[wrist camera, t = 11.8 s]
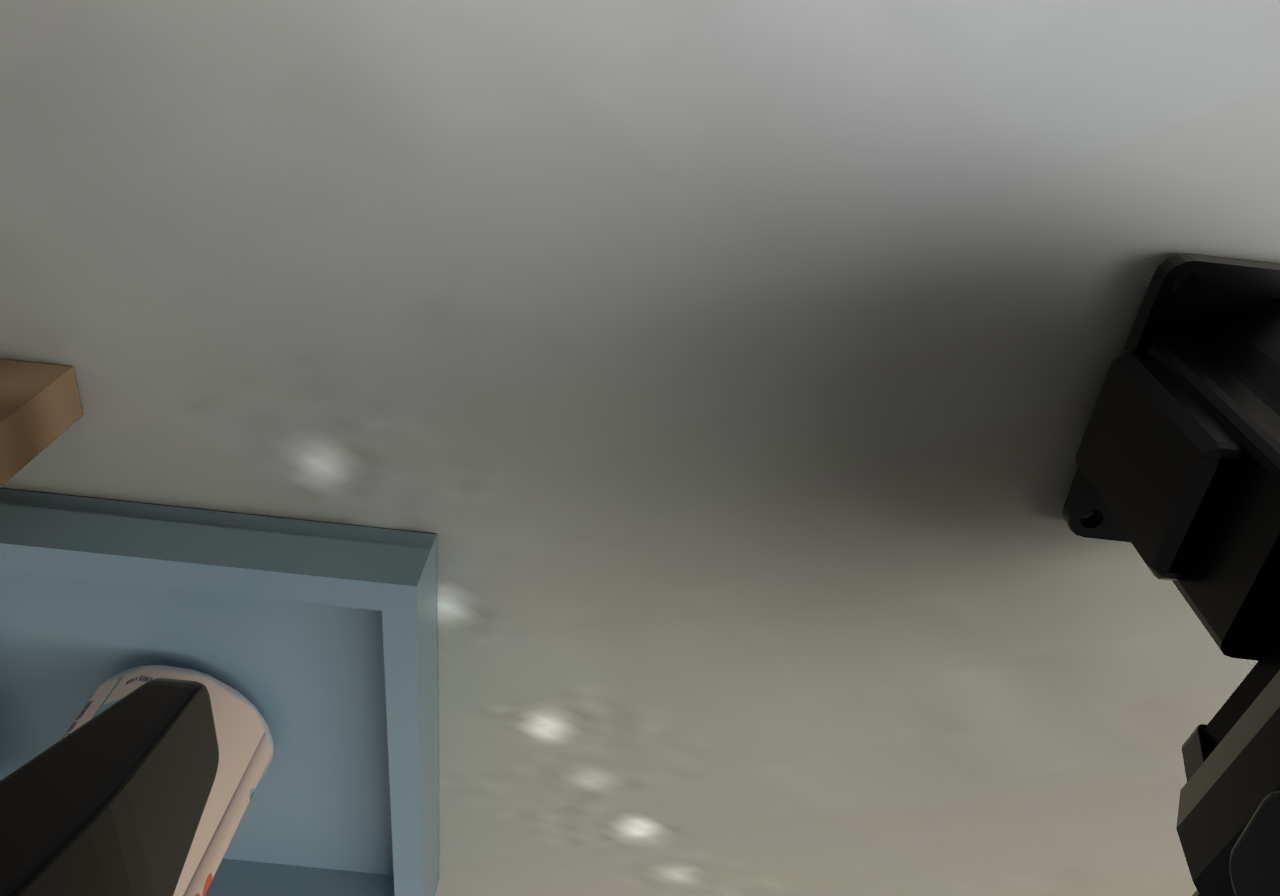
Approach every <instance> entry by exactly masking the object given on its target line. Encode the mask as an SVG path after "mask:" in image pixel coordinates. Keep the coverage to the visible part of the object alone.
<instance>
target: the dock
mask: <svg viewBox="0 0 1280 896" xmlns="http://www.w3.org/2000/svg"><path fill="white" fill-rule="evenodd" d="M82 415H83V411H82V406H81V401H80V397H79V392H78V388H77V383H76V378H75V374H74V369H73V367H71V366H62V365H52V364H43V363H34V362H24V361H15V360H6V359H0V485H3V484H5V483H6V482H7V481H8V480H9V479H10V478H11V477H13V476H14V475H15V474H16V473H17V472H18V471H19V470H21V469H22V468H23V467H24V466H25V465H26V464H27V463H29V462H30V461H31V460H32V459H33V458H34V457H35V456H37V455H38V454H39V453H40V452H41V451H42V450H43V449H45V448H46V447H47V446H48V445H49V444H50V443H51V442H53V441H54V440H55V439H56V438H57V437H58V436H59V435H61V434H62V433H63V432H64V431H65V430H66V429H67V428H69V427H70V426H71V425H72V424H73V423H74V422H75V421H77V420H78V419H79V418H80V417H81V416H82Z"/></svg>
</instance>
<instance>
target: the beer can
mask: <svg viewBox="0 0 1280 896" xmlns="http://www.w3.org/2000/svg"><path fill="white" fill-rule="evenodd" d="M156 678H169V679H179V680H188V681H198V682H200V683H203V684H204V685H205V686H206V688H207V689H208V692H209V695H210V700H211V706H212V712H213V717H214V723H215V729H216V735H217V741H218V746H219V763H218V769H217V774H216V777H215V781H214V784H213V786H212V789H211V792H210V795H209V797H208V800H207V803H206V806H205V809H204V811H203V814H202V817H201V820H200V823H199V825H198V828H197V831H196V834H195V836H194V839H193V842H192V845H191V848H190V850H189V853H188V856H187V859H186V862H185V864H184V867H183V870H182V873H181V875H180V878H179V881H178V884H177V887H176V889H175V892H174V895H173V896H205V894H206V892H207V890H208V888H209V886H210V884H211V882H212V879H213V877H214V875H215V873H216V871H217V869H218V867H219V865H220V863H221V860H222V858H223V856H224V854H225V852H226V850H227V848H228V846H229V844H230V841H231V839H232V837H233V835H234V833H235V831H236V829H237V827H238V825H239V823H240V820H241V818H242V816H243V814H244V812H245V810H246V808H247V806H248V804H249V801H250V799H251V797H252V795H253V793H254V791H255V789H256V787H257V785H258V783H259V781H260V779H261V778H262V777H263V776H264V775H265V774H266V773H267V771H268V768H269V766H270V764H271V761H272V759H273V751H274V743H273V739H272V735H271V732H270V729H269V726H268V724H267V722H266V721H265V719H264V718H263V717H262V715H261V714H260V712H259V711H258V709H257V708H256V706H255V705H254V704H252V703H251V702H250V701H249V700H248V699H247V698H246V697H244V696H243V695H242V694H241V693H240V692H239V691H237V690H235V689H234V688H232V687H230V686H228V685H226V684H225V683H223V682H221V681H219V680H217V679H216V678H214V677H212V676H210V675H209V674H205V673H202V672H199V671H196V670H192V669H185V668H178V667H171V666H164V665H147V666H139V667H135V668H131V669H127V670H124V671H122V672H120V673H118V674H116V675H114V676H112V677H110V678H108V679H107V680H106V681H105V682H103V683H102V684H101V685H100V686H99V687H98V689H97V690H96V692H95V693H94V695H93V696H92V697H91V699H90V700H89V702H88V703H87V704H86V706H85V707H84V708H83V710H82V711H81V713H80V714H79V715H78V717H77V718H76V719H75V721H74V722H73V723H72V725H71V726H70V728H69V729H68V730H67V732H66V733H65V734H64V736H63V737H62V739H63V738H64V737H66V736H67V735H68V734H70V733H71V732H73V731H74V730H76V729H77V728H79V727H80V726H82V725H83V724H85V723H86V722H88V721H89V720H91V719H92V718H94V717H95V716H97V715H98V714H100V713H101V712H103V711H104V710H106V709H107V708H109V707H110V706H112V705H113V704H114V703H116V702H117V701H119V700H120V699H122V698H123V697H125V696H126V695H128V694H129V693H131V692H132V691H134V690H135V689H137V688H138V687H140V686H141V685H143V684H144V683H146V682H148V681H150V680H153V679H156Z"/></svg>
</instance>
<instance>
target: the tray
mask: <svg viewBox="0 0 1280 896" xmlns="http://www.w3.org/2000/svg"><path fill="white" fill-rule="evenodd" d="M147 665H164V666H171V667H178V668H185V669H192V670H196V671H199V672H202V673H205V674H209V675H210V676H212V677H214V678H216V679H217V680H219V681H221V682H223V683H225V684H226V685H228V686H230V687H232V688H234V689H235V690H237V691H239V692H240V693H241V694H242V695H243V696H244V697H246V698H247V699H248V700H249V701H250V702H251V703H252V704H254V705H255V706H256V708H257V709H258V711H259V712H260V714H261V715H262V717H263V718H264V719H265V721H266V722H267V724H268V726H269V729H270V732H271V735H272V739H273V743H274V751H273V759H272V761H271V764H270V766H269V768H268V771H267V773H266V774H265V775H264V776H263V777H262V778H261V779H260V781H259V783H258V785H257V787H256V789H255V791H254V793H253V795H252V797H251V799H250V801H249V804H248V806H247V808H246V810H245V812H244V814H243V816H242V818H241V820H240V823H239V825H238V827H237V829H236V831H235V833H234V835H233V837H232V839H231V841H230V844H229V846H228V848H227V850H226V852H225V854H224V856H223V858H222V860H221V863H220V865H219V867H218V869H217V871H216V873H215V875H214V877H213V879H212V882H211V884H210V886H209V888H208V890H207V892H206V894H205V896H435V894H436V890H437V886H438V882H439V776H438V638H437V534H429V533H419V532H410V531H400V530H391V529H381V528H372V527H362V526H353V525H343V524H334V523H324V522H315V521H305V520H296V519H286V518H277V517H267V516H258V515H248V514H239V513H229V512H220V511H210V510H201V509H191V508H182V507H172V506H163V505H153V504H144V503H134V502H125V501H115V500H106V499H96V498H87V497H77V496H67V495H58V494H48V493H39V492H29V491H20V490H10V489H1V488H0V780H2V779H3V778H5V777H6V776H8V775H9V774H11V773H12V772H14V771H15V770H17V769H18V768H20V767H21V766H23V765H24V764H25V763H27V762H28V761H30V760H31V759H33V758H34V757H36V756H37V755H39V754H40V753H42V752H43V751H45V750H46V749H48V748H49V747H51V746H52V745H54V744H55V743H57V742H58V741H60V740H61V739H62V737H63V736H64V734H65V733H66V732H67V730H68V729H69V728H70V726H71V725H72V723H73V722H74V721H75V719H76V718H77V717H78V715H79V714H80V713H81V711H82V710H83V708H84V707H85V706H86V704H87V703H88V702H89V700H90V699H91V697H92V696H93V695H94V693H95V692H96V690H97V689H98V687H99V686H100V685H101V684H102V683H103V682H105V681H106V680H107V679H108V678H110V677H112V676H114V675H116V674H118V673H120V672H122V671H124V670H127V669H131V668H135V667H139V666H147Z"/></svg>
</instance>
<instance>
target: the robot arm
mask: <svg viewBox="0 0 1280 896" xmlns="http://www.w3.org/2000/svg"><path fill="white" fill-rule="evenodd" d="M1187 273H1192V276H1191V281H1190V282H1189V283H1188V285H1187V286H1186V287H1184V288H1182V289H1181V290H1175V291H1173V288H1174V283H1175V282H1176V281H1177V279H1178V278H1179V277H1181V276H1182V275H1184V274H1187ZM1076 462H1077V464H1078V465H1079V468H1078V471H1077V473H1076V476H1075V478H1074V481H1073V484H1072V486H1071V489H1070V491H1069V494H1068V497H1067V499H1066V502H1065V504H1064V507H1063V516H1064V519H1065V521H1066V523H1067V524H1068V526H1069V528H1070V529H1071V531H1073V532H1074V533H1075V534H1076V535H1079V536H1082V537H1087V538H1097V539H1106V540H1116V541H1125V542H1131V543H1132V544H1133V545H1134V547H1135V548H1136V550H1137V551H1138V553H1139V554H1140V556H1141V557H1142V559H1143V560H1144V562H1145V563H1146V564H1147V566H1148V567H1149V569H1150V570H1151V572H1152V573H1153V575H1154V576H1155V577H1157V578H1158V579H1164V580H1172V581H1173V583H1174V584H1175V585H1176V587H1177V588H1178V590H1179V591H1180V593H1181V594H1182V595H1183V597H1184V598H1185V600H1186V601H1187V602H1188V604H1189V605H1190V607H1191V608H1192V610H1193V611H1194V612H1195V614H1196V615H1197V617H1198V618H1199V620H1200V621H1201V622H1202V624H1203V625H1204V627H1205V628H1206V629H1207V631H1208V632H1209V634H1210V635H1211V637H1212V638H1213V639H1214V641H1215V642H1216V644H1217V645H1218V646H1219V648H1220V649H1221V651H1222V652H1223V654H1224V655H1226V656H1229V657H1232V658H1241V659H1251V660H1257V661H1258V663H1257V664H1256V665H1255V666H1254V668H1253V669H1252V670H1251V671H1250V673H1249V674H1248V675H1247V676H1246V678H1245V679H1244V680H1243V681H1242V683H1241V684H1240V685H1239V686H1238V688H1237V689H1236V690H1235V691H1234V693H1233V694H1232V695H1231V696H1230V698H1229V699H1228V700H1227V701H1226V703H1225V704H1224V705H1223V706H1222V708H1221V709H1220V710H1219V711H1218V713H1217V714H1216V715H1215V716H1214V718H1213V719H1212V720H1211V721H1210V722H1209V724H1208V725H1202V724H1201V725H1199V726H1198V727H1197V728H1196V729H1195V731H1194V732H1193V733H1192V734H1191V736H1190V737H1189V738H1188V739H1187V741H1186V742H1185V743H1184V744H1183V746H1182V753H1183V759H1184V765H1185V772H1186V778H1187V783H1186V784H1185V786H1184V787H1183V788H1182V789H1181V793H1180V802H1179V811H1178V819H1177V832H1178V835H1179V838H1180V841H1181V844H1182V848H1183V851H1184V854H1185V857H1186V860H1187V864H1188V867H1189V870H1190V873H1191V876H1192V879H1193V882H1194V884H1195V886H1196V888H1197V891H1196V892H1195V893H1194V894H1193V895H1192V896H1280V264H1273V263H1264V262H1255V261H1246V260H1237V259H1228V258H1219V257H1210V256H1201V255H1192V254H1181V255H1176V256H1173V257H1171V258H1169V259H1167V260H1166V261H1164V262H1163V263H1162V264H1161V265H1160V266H1159V267H1158V268H1157V270H1156V272H1155V273H1154V275H1153V277H1152V280H1151V282H1150V285H1149V287H1148V290H1147V293H1146V295H1145V298H1144V300H1143V303H1142V306H1141V308H1140V311H1139V313H1138V316H1137V318H1136V321H1135V324H1134V326H1133V329H1132V331H1131V334H1130V336H1129V339H1128V342H1127V344H1126V347H1125V349H1124V351H1123V352H1122V353H1120V354H1119V355H1118V356H1117V357H1116V358H1115V359H1113V361H1112V363H1111V366H1110V369H1109V371H1108V374H1107V376H1106V379H1105V382H1104V384H1103V387H1102V389H1101V392H1100V395H1099V397H1098V400H1097V403H1096V405H1095V408H1094V410H1093V413H1092V416H1091V418H1090V421H1089V423H1088V426H1087V429H1086V431H1085V434H1084V436H1083V439H1082V442H1081V444H1080V447H1079V450H1078V452H1077V455H1076ZM1094 509H1097V511H1096V512H1095V513H1094V515H1092V516H1090V517H1088V518H1081V516H1082V515H1083V514H1084V513H1085V512H1087V511H1088V510H1094ZM218 763H219V746H218V741H217V735H216V729H215V723H214V717H213V712H212V706H211V700H210V695H209V692H208V689H207V688H206V686H205V685H204V684H203V683H200V682H198V681H188V680H179V679H169V678H156V679H153V680H150V681H148V682H146V683H144V684H143V685H141V686H140V687H138V688H137V689H135V690H134V691H132V692H131V693H129V694H128V695H126V696H125V697H123V698H122V699H120V700H119V701H117V702H116V703H114V704H113V705H112V706H110V707H109V708H107V709H106V710H104V711H103V712H101V713H100V714H98V715H97V716H95V717H94V718H92V719H91V720H89V721H88V722H86V723H85V724H83V725H82V726H80V727H79V728H77V729H76V730H74V731H73V732H71V733H70V734H68V735H67V736H66V737H64V738H63V739H61V740H60V741H58V742H57V743H55V744H54V745H52V746H51V747H49V748H48V749H46V750H45V751H43V752H42V753H40V754H39V755H37V756H36V757H34V758H33V759H31V760H30V761H28V762H27V763H25V764H24V765H23V766H21V767H20V768H18V769H17V770H15V771H14V772H12V773H11V774H9V775H8V776H6V777H5V778H3V779H2V780H0V896H173V895H174V892H175V889H176V887H177V884H178V881H179V878H180V875H181V873H182V870H183V867H184V864H185V862H186V859H187V856H188V853H189V850H190V848H191V845H192V842H193V839H194V836H195V834H196V831H197V828H198V825H199V823H200V820H201V817H202V814H203V811H204V809H205V806H206V803H207V800H208V797H209V795H210V792H211V789H212V786H213V784H214V781H215V777H216V774H217V769H218Z"/></svg>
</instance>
